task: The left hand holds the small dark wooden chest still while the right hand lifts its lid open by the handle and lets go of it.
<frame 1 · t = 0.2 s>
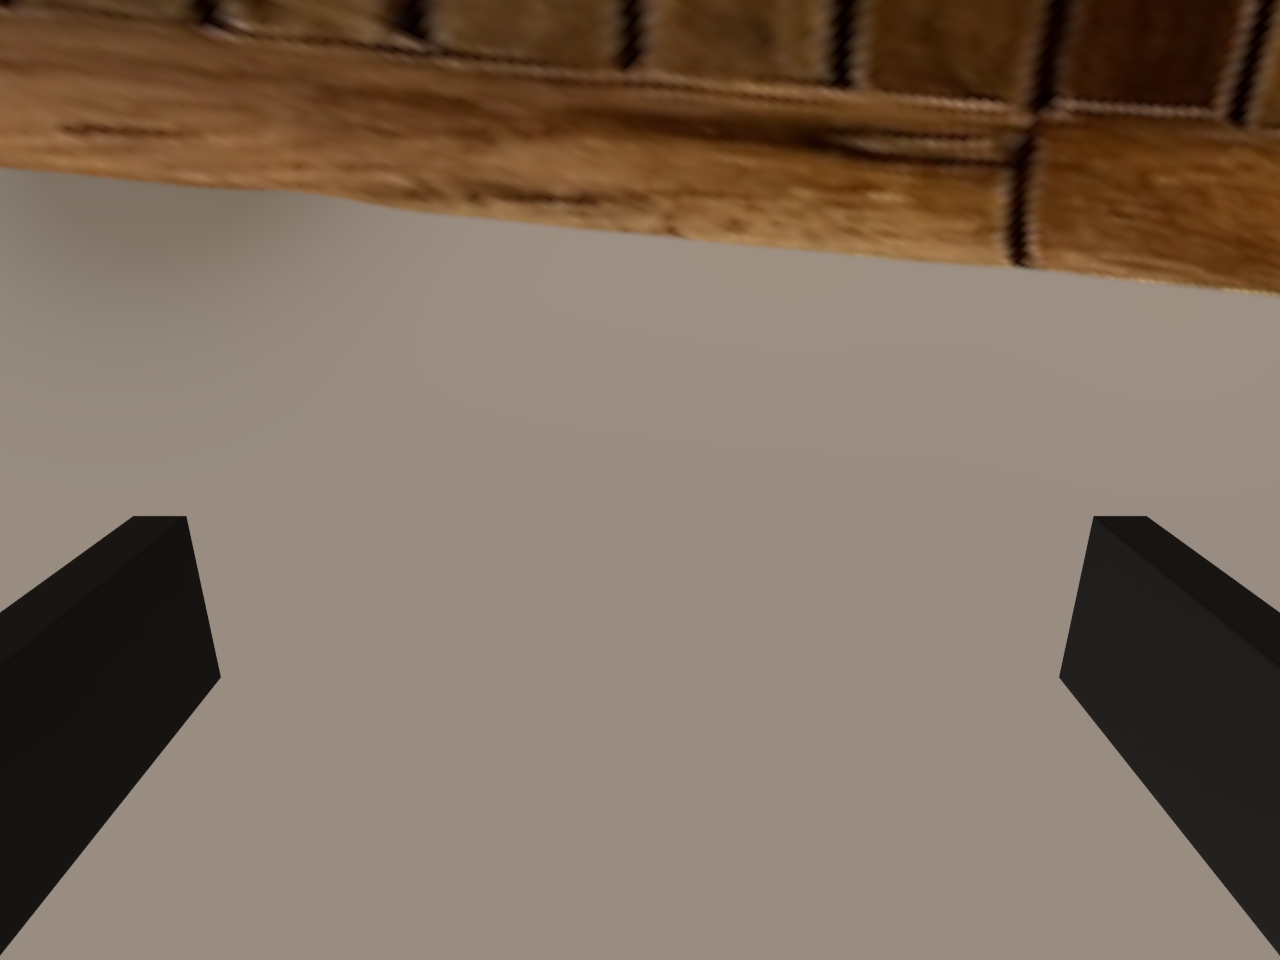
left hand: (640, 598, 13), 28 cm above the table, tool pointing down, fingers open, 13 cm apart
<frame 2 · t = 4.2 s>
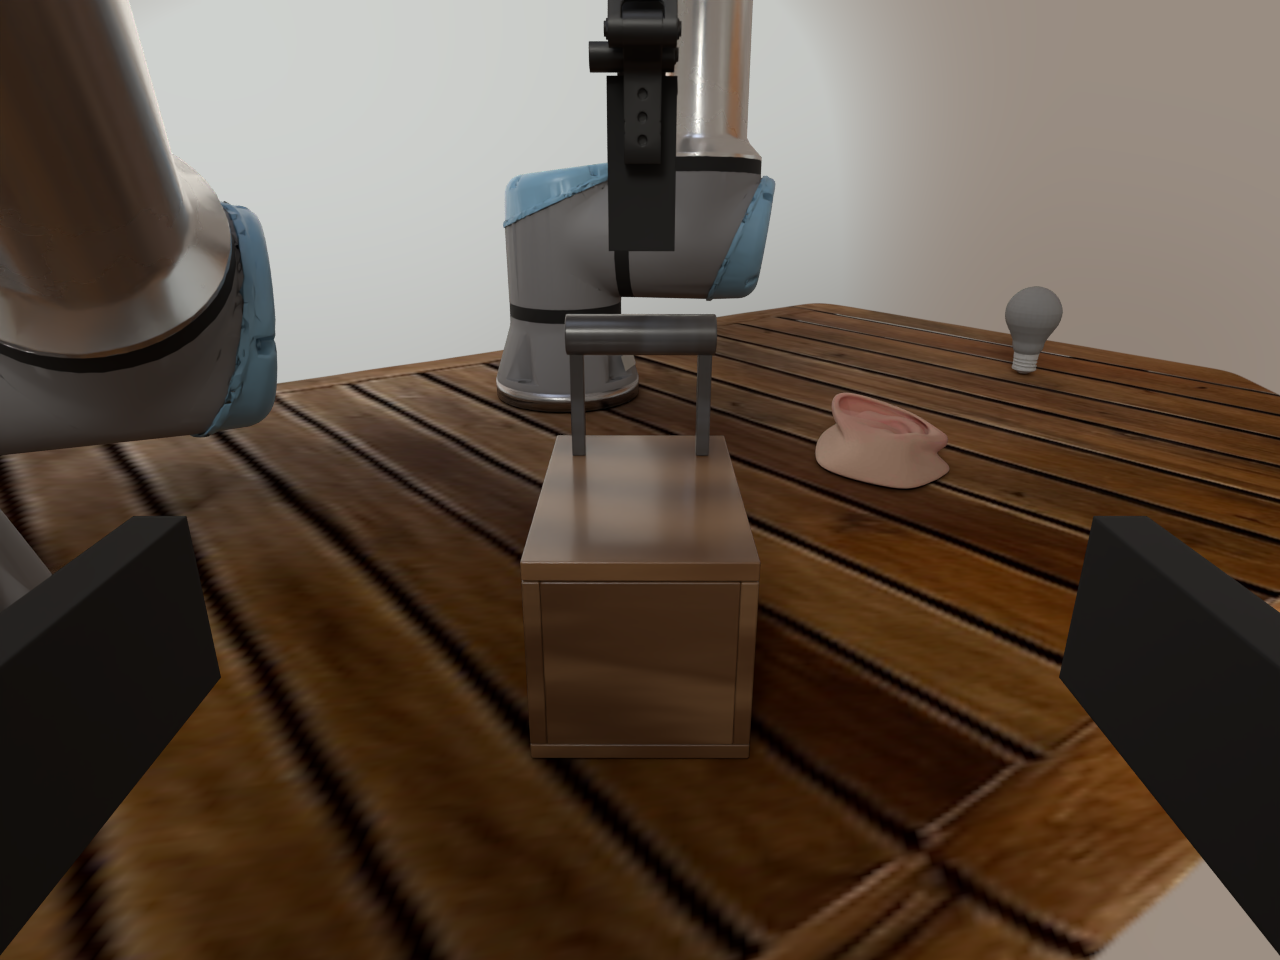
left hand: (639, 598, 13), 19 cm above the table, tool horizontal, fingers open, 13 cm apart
lid: (640, 422, 40), point 13 cm above the table, hinge at 0.0°
light bulb: (1022, 374, 100), on the table
chest: (640, 661, 44), on the table
anatomical model: (878, 460, 72), on the table
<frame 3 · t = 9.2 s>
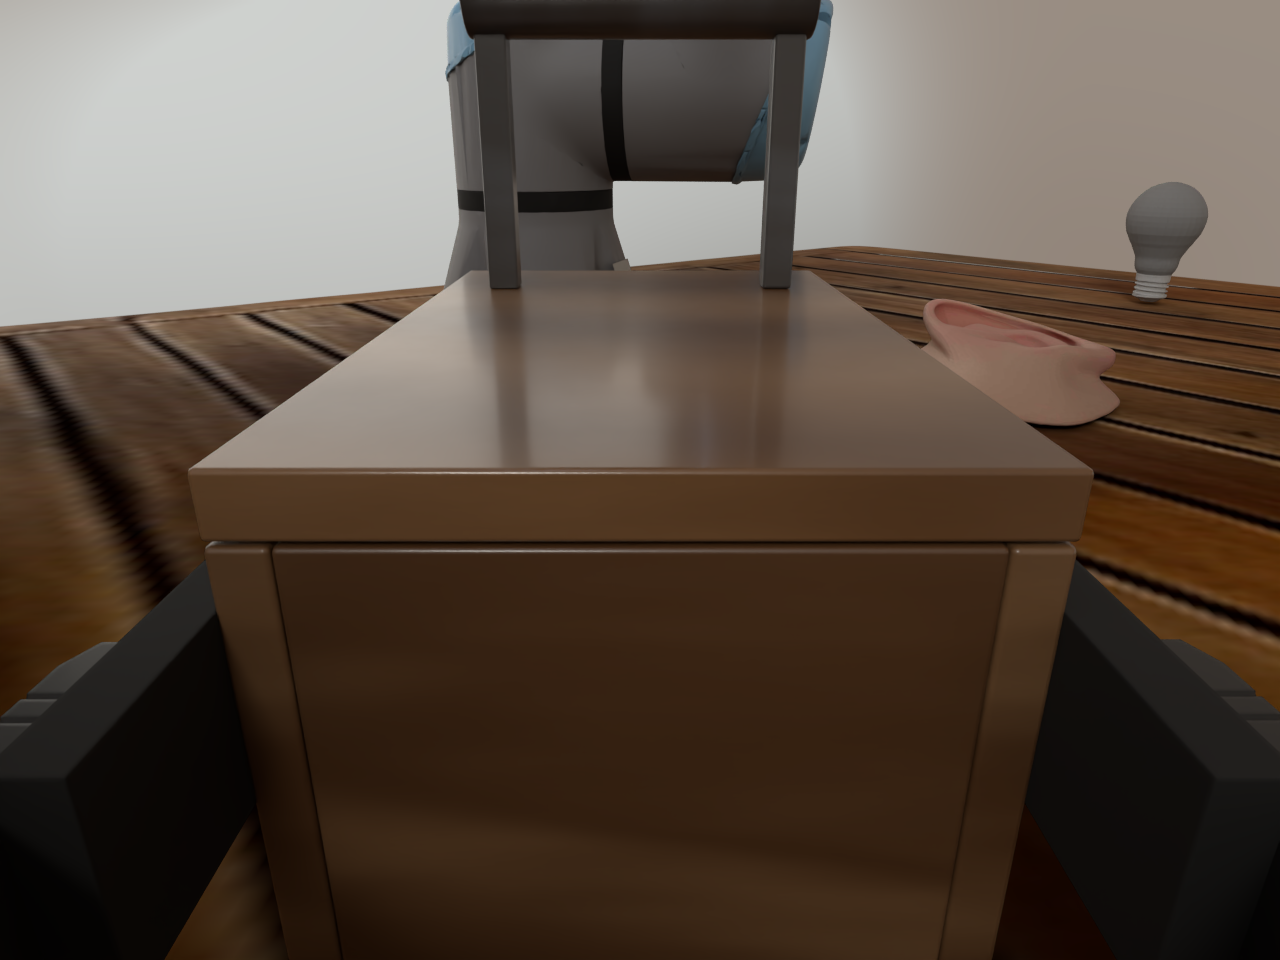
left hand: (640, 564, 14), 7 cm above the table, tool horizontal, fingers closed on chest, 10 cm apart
lid: (640, 139, 15), point 13 cm above the table, hinge at -0.1°
light bulb: (1147, 303, 75), on the table
chest: (640, 747, 19), on the table, touching left hand
anatomical model: (1001, 392, 48), on the table
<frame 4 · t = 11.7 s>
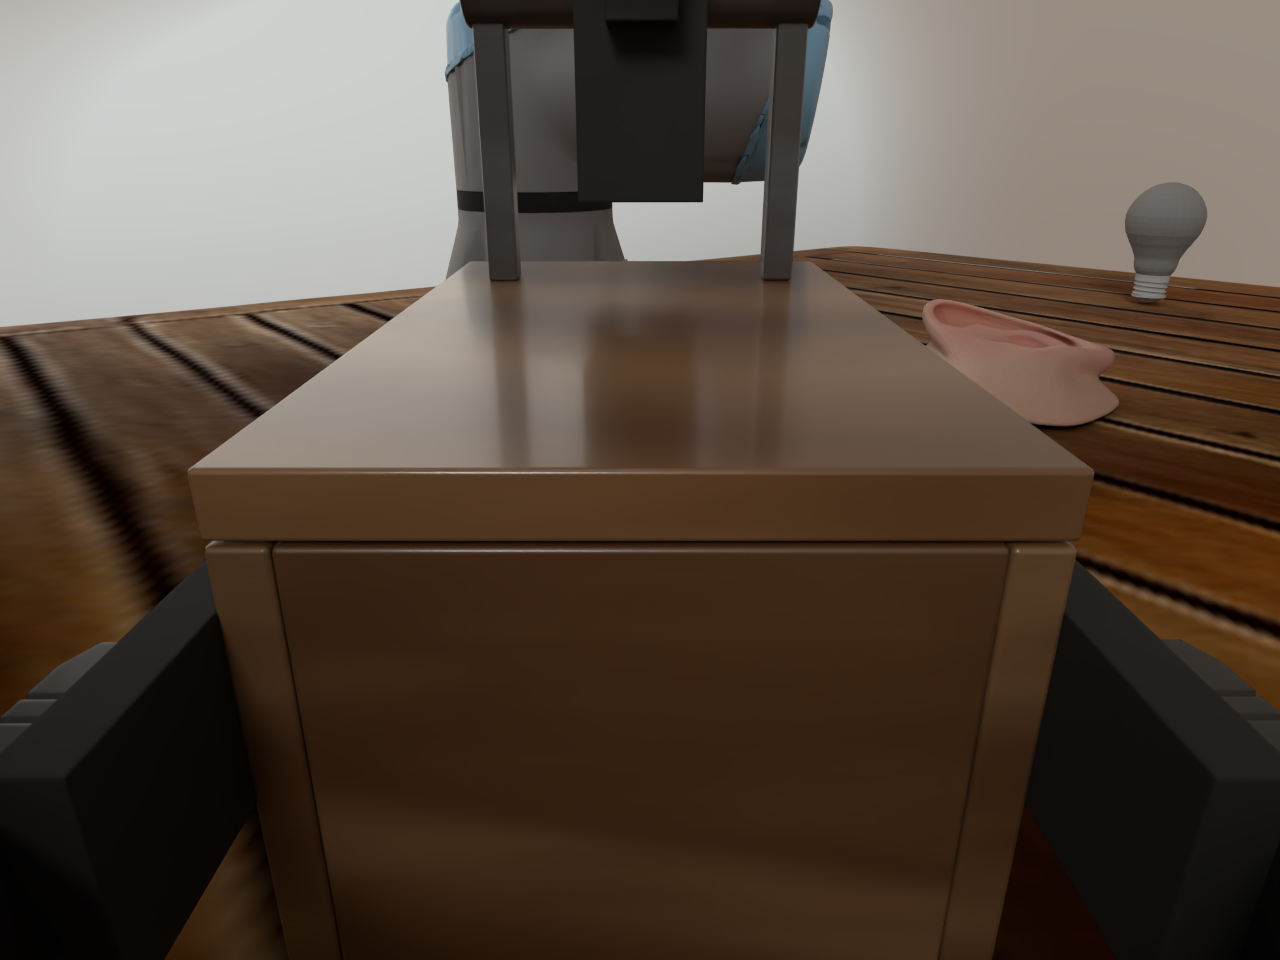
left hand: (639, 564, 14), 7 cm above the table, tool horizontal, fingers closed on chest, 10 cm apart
lid: (640, 131, 15), point 13 cm above the table, hinge at 0.9°, touching right hand
light bulb: (1146, 303, 75), on the table
chest: (640, 747, 19), on the table, touching left hand
anatomical model: (1001, 393, 48), on the table
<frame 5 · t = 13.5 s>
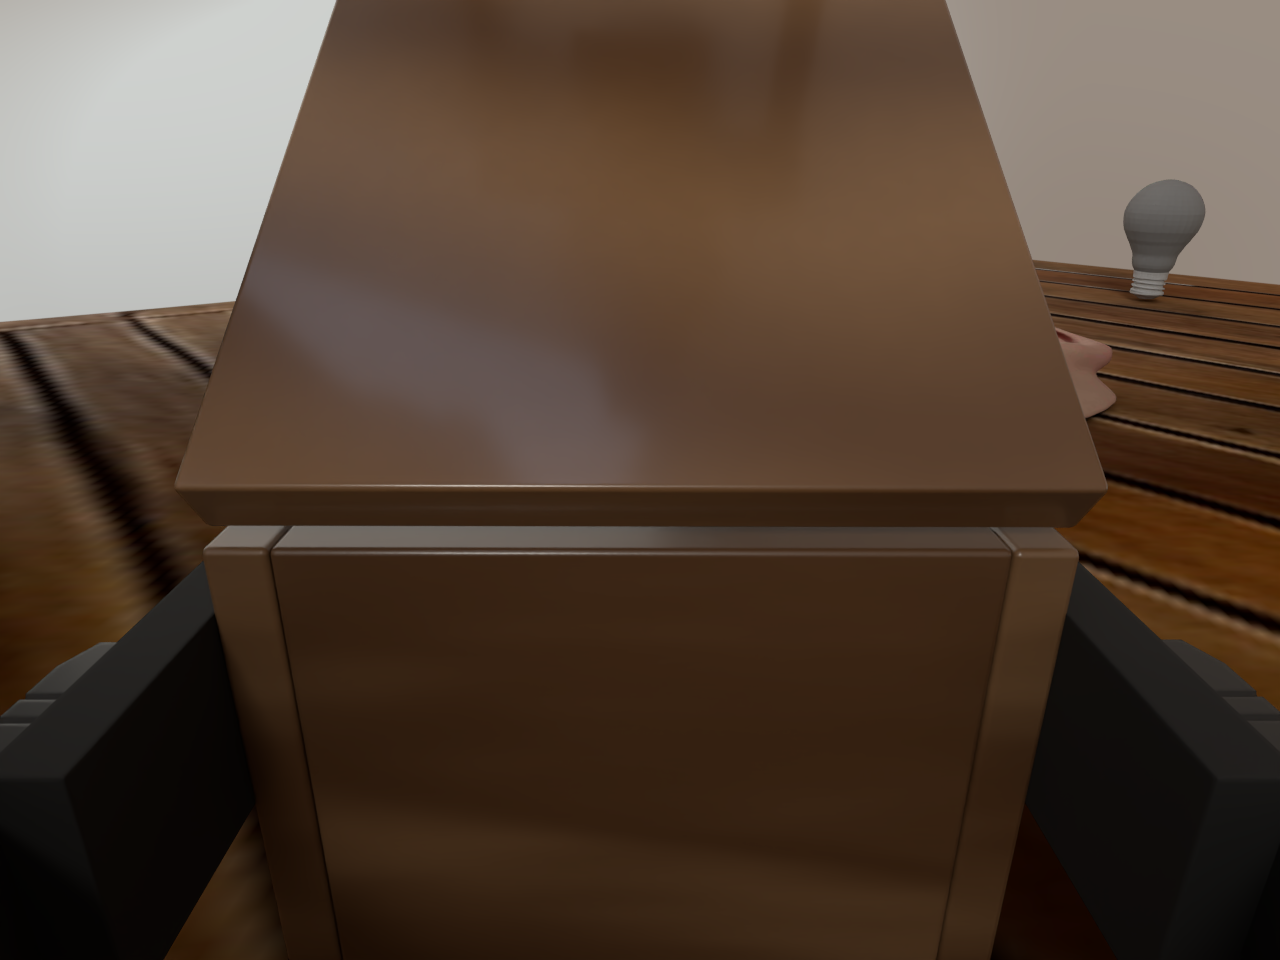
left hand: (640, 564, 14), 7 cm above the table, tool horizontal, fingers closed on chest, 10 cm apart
light bulb: (1144, 300, 76), on the table
chest: (638, 743, 19), on the table, touching left hand
anatomical model: (999, 389, 48), on the table
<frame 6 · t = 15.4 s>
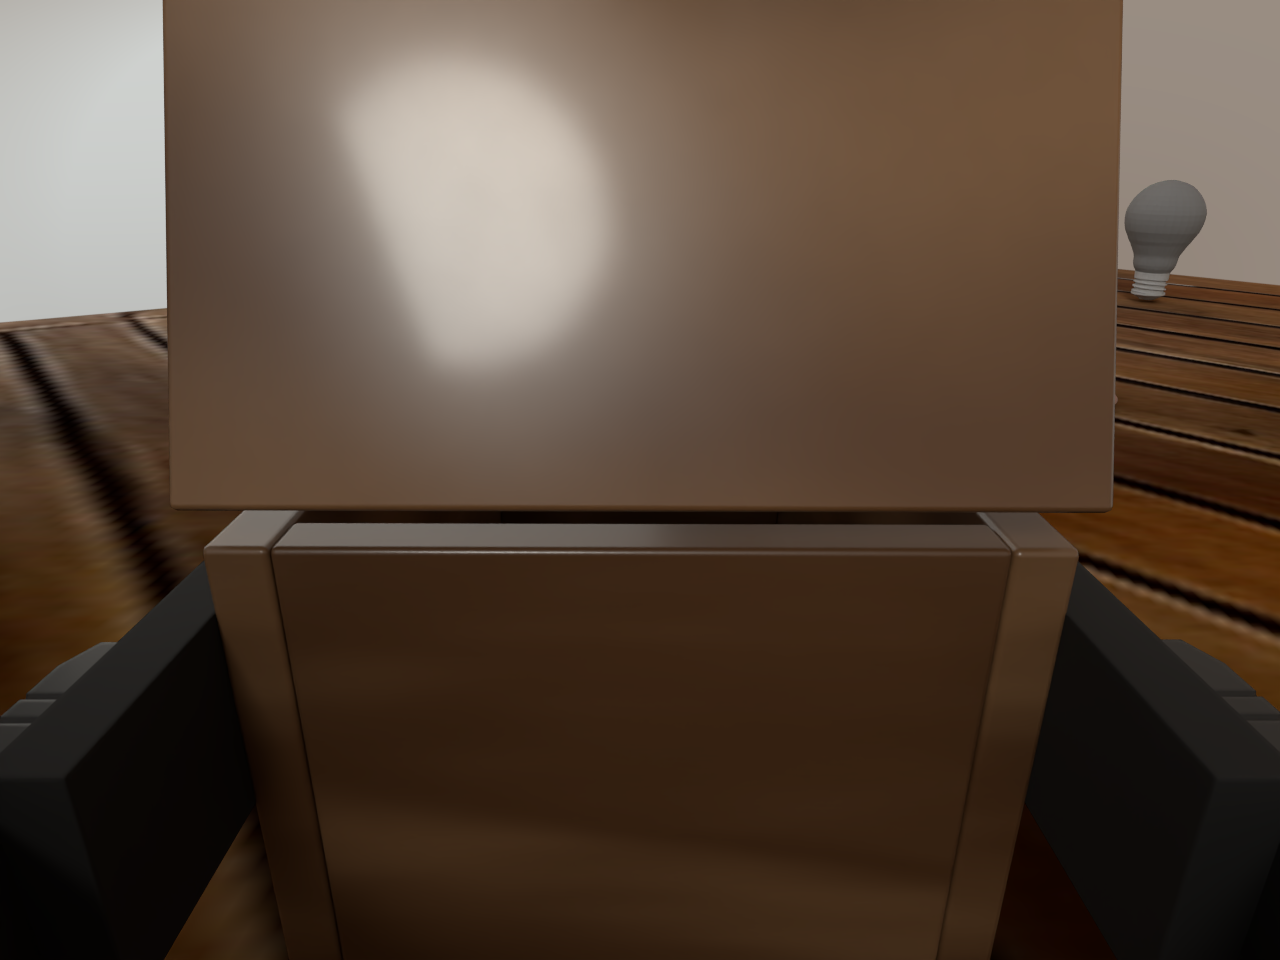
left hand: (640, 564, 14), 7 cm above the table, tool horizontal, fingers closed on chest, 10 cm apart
light bulb: (1146, 301, 75), on the table
chest: (639, 743, 19), on the table, touching left hand
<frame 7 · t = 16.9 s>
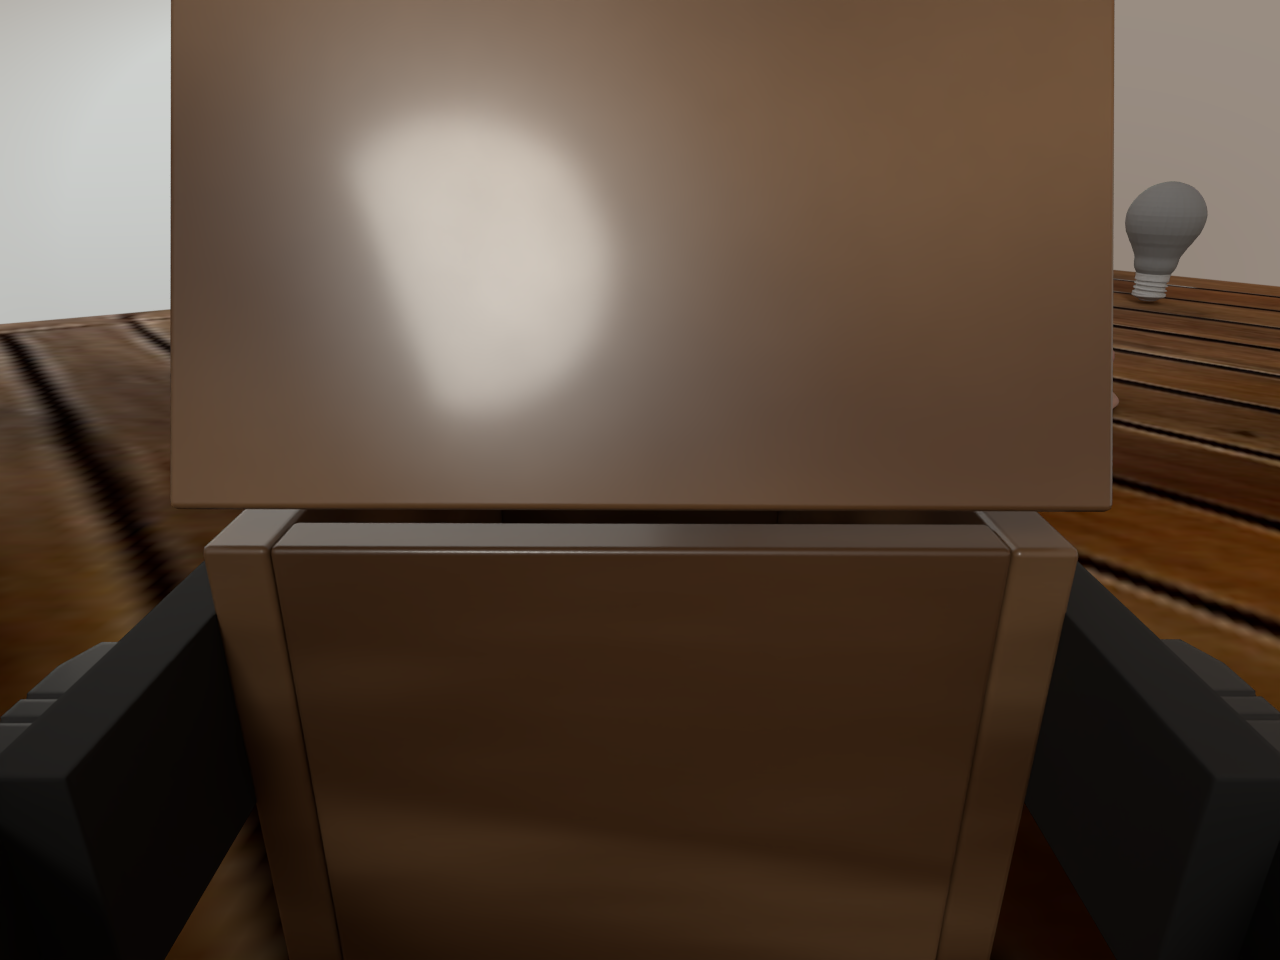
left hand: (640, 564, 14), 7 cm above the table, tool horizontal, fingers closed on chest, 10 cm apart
light bulb: (1146, 302, 75), on the table
chest: (639, 743, 19), on the table, touching left hand
when the left hand's fingers open (7 cm above the table, at t = 19.5 s): chest stays where it is, on the table.
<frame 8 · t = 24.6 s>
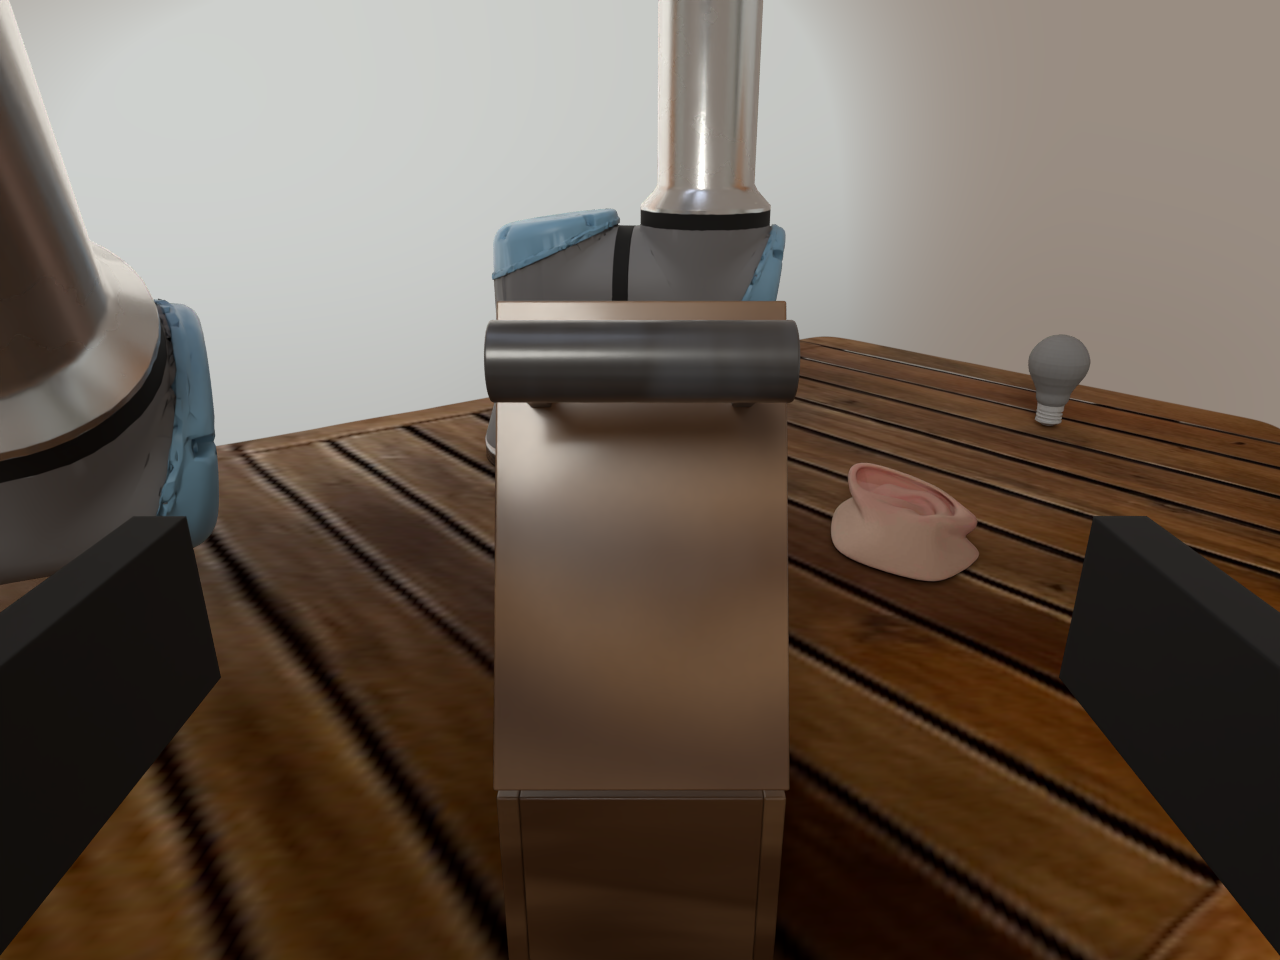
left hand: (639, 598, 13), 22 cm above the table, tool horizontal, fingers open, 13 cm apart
lid: (641, 547, 24), point 18 cm above the table, hinge at 66.5°
light bulb: (1047, 426, 94), on the table
chest: (640, 833, 38), on the table
anatomical model: (900, 541, 66), on the table
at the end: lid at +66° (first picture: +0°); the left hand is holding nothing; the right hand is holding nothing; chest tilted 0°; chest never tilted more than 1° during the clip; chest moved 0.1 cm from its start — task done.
